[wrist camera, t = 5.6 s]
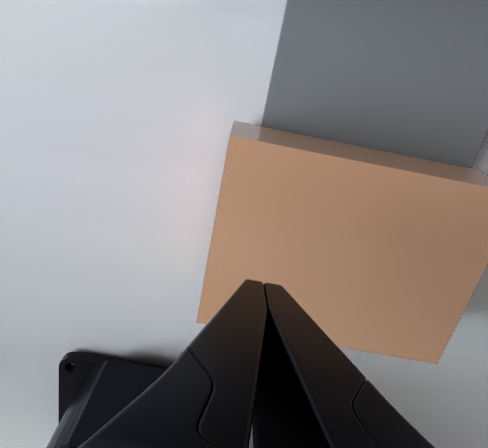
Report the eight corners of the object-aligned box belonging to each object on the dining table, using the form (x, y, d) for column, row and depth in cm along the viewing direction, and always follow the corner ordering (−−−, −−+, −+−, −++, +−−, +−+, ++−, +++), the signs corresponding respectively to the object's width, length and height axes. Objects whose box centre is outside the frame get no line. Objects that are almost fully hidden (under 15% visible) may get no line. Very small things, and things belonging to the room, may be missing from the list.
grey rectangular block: (386, 348, 16) (389, 355, 16) (220, 320, 16) (220, 326, 16) (665, -302, 9) (682, -316, 9) (367, -384, 9) (372, -404, 8)
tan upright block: (205, 279, 15) (409, 316, 15) (196, 322, 12) (437, 363, 13) (234, 119, 12) (474, 168, 13) (229, 135, 10) (523, 194, 11)
